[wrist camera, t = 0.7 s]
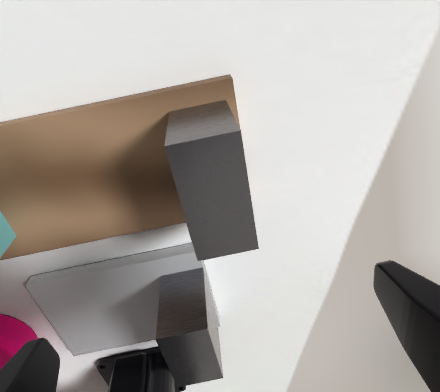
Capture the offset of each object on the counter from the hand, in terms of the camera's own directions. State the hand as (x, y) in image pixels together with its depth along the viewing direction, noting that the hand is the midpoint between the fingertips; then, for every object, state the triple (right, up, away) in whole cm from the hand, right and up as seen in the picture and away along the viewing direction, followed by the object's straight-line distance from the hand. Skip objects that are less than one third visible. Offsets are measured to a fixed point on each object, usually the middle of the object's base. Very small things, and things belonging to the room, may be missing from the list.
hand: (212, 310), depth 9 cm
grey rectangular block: (-7, -5, +16) cm, 18 cm away
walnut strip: (-9, +4, +10) cm, 14 cm away
